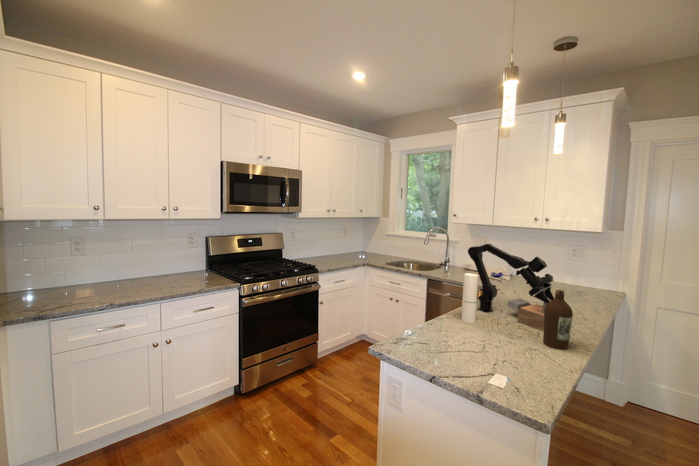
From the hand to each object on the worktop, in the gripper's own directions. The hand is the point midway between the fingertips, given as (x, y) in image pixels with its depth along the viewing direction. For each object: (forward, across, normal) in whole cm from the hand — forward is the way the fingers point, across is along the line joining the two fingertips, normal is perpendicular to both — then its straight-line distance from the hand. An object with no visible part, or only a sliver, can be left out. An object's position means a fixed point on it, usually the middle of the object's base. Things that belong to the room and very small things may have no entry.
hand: (552, 302), depth 164 cm
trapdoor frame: (+6, +1, +13) cm, 14 cm away
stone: (+4, 0, +6) cm, 7 cm away
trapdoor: (-1, +2, +13) cm, 13 cm away
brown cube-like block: (-2, +16, +21) cm, 26 cm away
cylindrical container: (-13, -25, +32) cm, 43 cm away
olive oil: (+15, -24, +3) cm, 29 cm away
